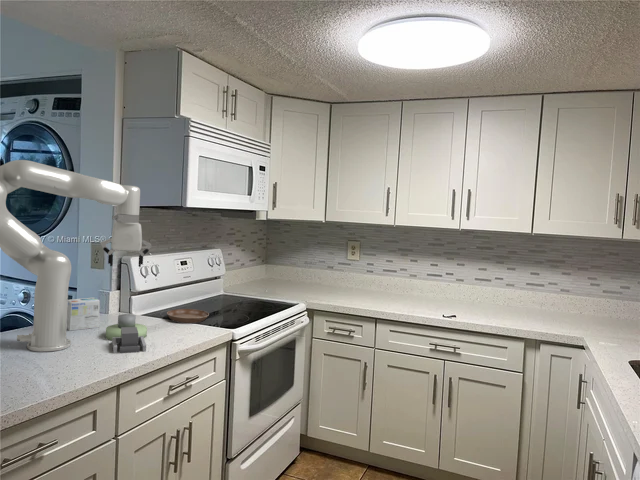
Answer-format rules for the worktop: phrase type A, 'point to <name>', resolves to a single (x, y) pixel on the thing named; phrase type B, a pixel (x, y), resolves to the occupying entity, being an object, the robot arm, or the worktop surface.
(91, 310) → the light bulb box
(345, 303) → the worktop surface
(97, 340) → the worktop surface
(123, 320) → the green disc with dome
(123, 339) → the grey sliding block
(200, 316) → the plant saucer
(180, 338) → the worktop surface
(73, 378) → the worktop surface
